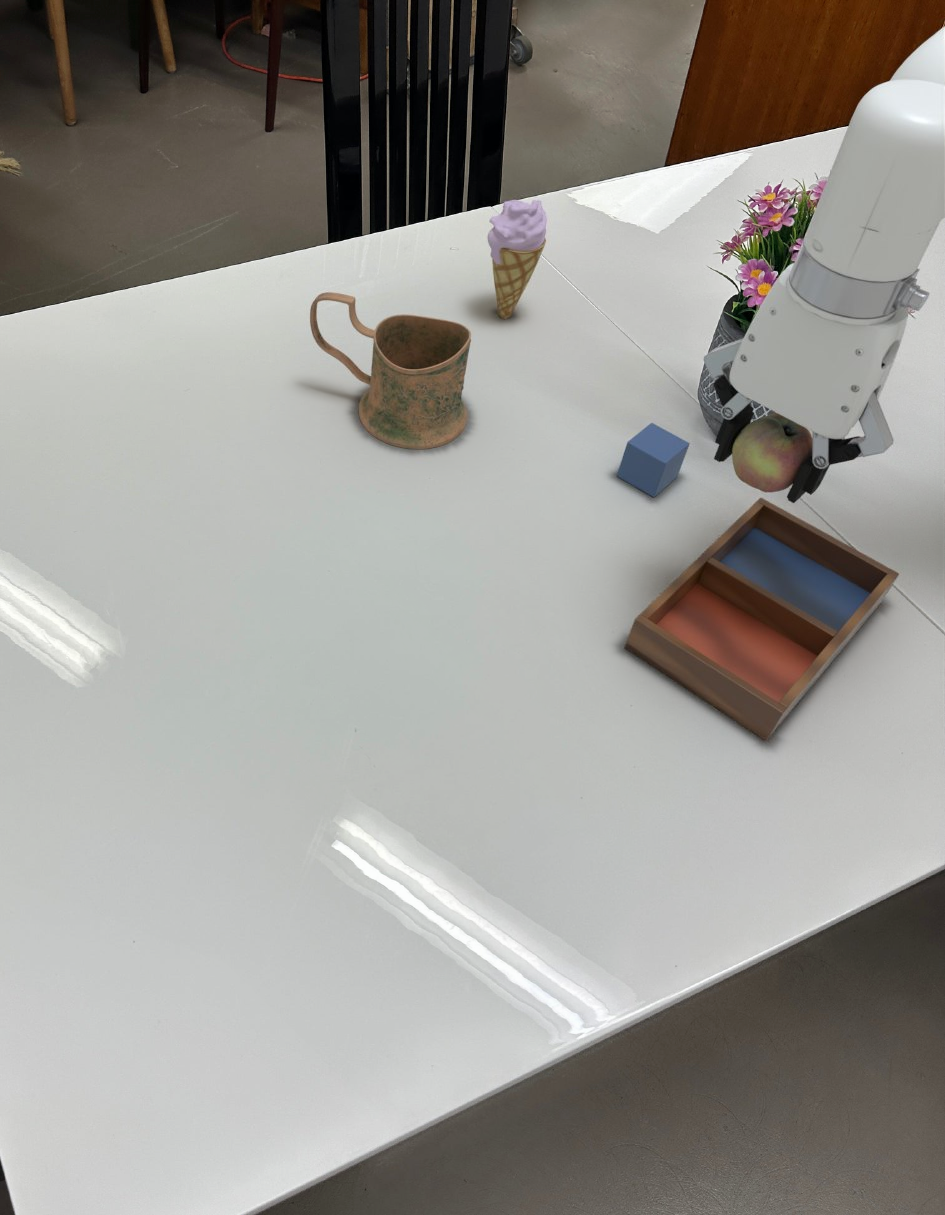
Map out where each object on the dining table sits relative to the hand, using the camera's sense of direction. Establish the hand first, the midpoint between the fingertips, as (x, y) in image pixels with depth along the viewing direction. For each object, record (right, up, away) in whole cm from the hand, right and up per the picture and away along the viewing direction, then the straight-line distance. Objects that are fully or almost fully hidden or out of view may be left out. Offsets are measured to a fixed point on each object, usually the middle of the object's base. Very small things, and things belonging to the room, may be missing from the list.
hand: (762, 471), depth 88 cm
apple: (0, -1, +1) cm, 1 cm away
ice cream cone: (-15, +24, +41) cm, 49 cm away
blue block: (-3, +2, +23) cm, 23 cm away
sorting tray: (+3, -13, +10) cm, 16 cm away
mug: (-29, +10, +28) cm, 42 cm away
